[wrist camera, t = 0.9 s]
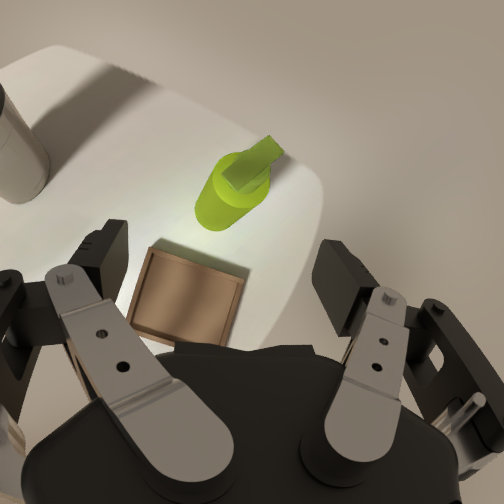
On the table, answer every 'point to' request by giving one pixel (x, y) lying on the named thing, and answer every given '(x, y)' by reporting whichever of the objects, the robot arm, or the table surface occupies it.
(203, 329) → the soap tray
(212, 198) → the soap dispenser
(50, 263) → the table surface
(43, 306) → the robot arm
